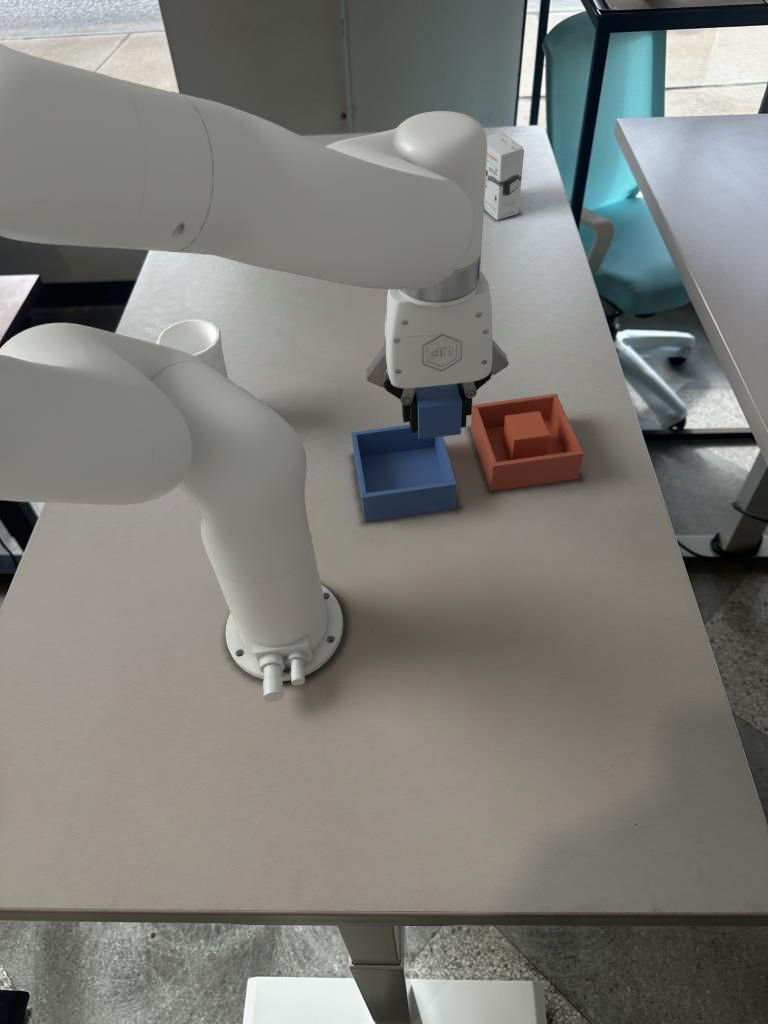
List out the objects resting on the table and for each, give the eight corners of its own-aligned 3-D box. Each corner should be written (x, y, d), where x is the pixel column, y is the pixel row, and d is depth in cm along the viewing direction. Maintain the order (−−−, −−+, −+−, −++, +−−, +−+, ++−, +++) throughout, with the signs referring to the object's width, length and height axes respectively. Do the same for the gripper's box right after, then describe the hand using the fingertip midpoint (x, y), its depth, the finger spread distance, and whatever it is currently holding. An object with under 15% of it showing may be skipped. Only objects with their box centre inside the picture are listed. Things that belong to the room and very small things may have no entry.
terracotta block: (545, 460, 93) (550, 435, 89) (511, 465, 92) (514, 440, 89) (535, 436, 96) (539, 410, 92) (502, 441, 95) (504, 415, 92)
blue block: (460, 434, 77) (462, 402, 74) (418, 439, 77) (418, 407, 74) (453, 406, 80) (454, 374, 77) (413, 411, 80) (412, 378, 77)
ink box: (472, 201, 138) (475, 136, 129) (495, 195, 139) (499, 130, 130) (496, 221, 132) (500, 155, 123) (519, 214, 134) (525, 148, 125)
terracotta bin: (578, 478, 91) (584, 453, 88) (490, 491, 90) (492, 466, 87) (552, 418, 98) (556, 393, 95) (470, 430, 98) (472, 404, 94)
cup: (180, 412, 103) (150, 328, 92) (236, 397, 104) (213, 312, 94) (191, 449, 98) (160, 365, 87) (249, 433, 99) (227, 347, 89)
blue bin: (455, 509, 89) (456, 484, 85) (364, 522, 88) (362, 497, 85) (438, 445, 96) (438, 420, 93) (354, 457, 95) (351, 432, 92)
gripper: (346, 303, 62) (361, 454, 76) (542, 282, 62) (521, 437, 76) (340, 256, 67) (355, 407, 81) (522, 238, 67) (506, 390, 81)
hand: (436, 420), depth 78 cm, fingers closed on blue block, 4 cm apart
